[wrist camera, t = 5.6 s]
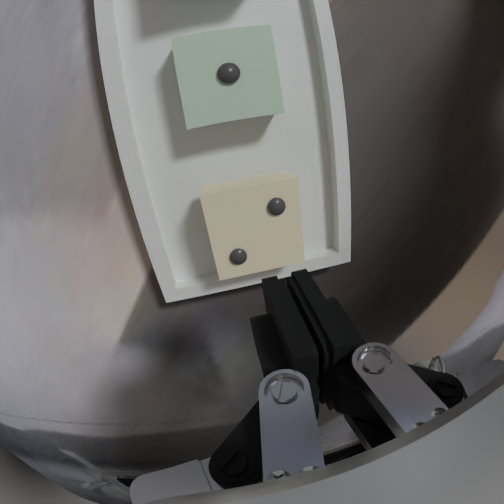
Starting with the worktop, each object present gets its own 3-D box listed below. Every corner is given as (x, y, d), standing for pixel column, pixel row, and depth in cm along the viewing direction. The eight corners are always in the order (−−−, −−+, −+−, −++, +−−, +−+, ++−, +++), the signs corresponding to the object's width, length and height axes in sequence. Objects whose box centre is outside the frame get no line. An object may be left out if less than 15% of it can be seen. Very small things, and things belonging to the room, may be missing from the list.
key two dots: (287, 170, 18) (298, 178, 16) (295, 247, 20) (305, 262, 18) (199, 187, 17) (199, 197, 15) (217, 264, 20) (220, 281, 18)
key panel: (292, -80, 10) (300, -92, 8) (339, 249, 24) (350, 261, 22) (100, -54, 9) (92, -66, 7) (168, 287, 22) (166, 302, 21)
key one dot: (262, 32, 14) (271, 24, 12) (275, 112, 17) (285, 113, 15) (173, 45, 14) (170, 37, 12) (188, 127, 16) (186, 129, 14)
